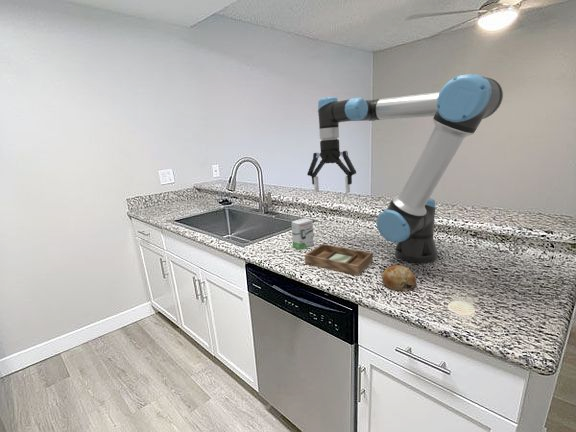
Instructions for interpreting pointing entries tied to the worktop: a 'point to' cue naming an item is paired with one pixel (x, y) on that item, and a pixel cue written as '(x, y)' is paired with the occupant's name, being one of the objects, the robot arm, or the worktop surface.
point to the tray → (339, 259)
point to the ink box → (302, 233)
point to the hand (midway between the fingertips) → (331, 192)
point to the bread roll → (399, 278)
